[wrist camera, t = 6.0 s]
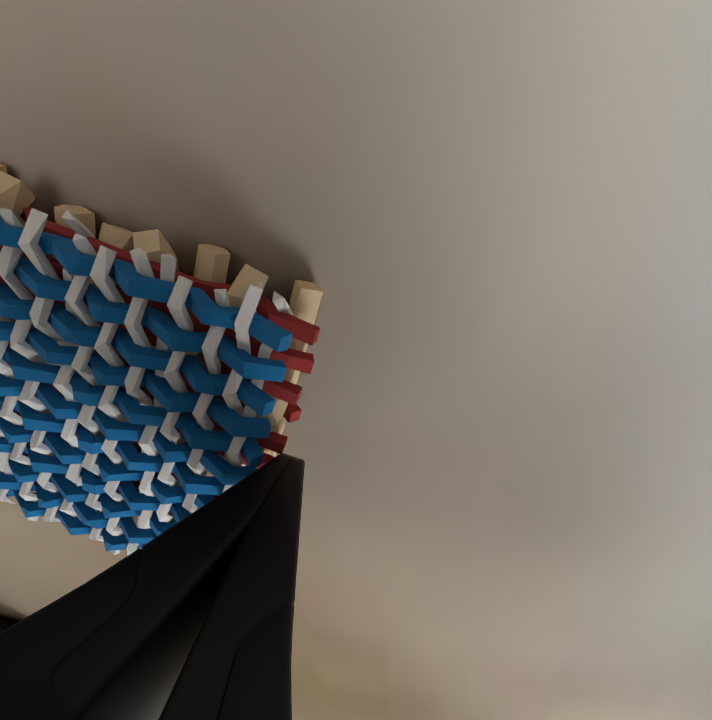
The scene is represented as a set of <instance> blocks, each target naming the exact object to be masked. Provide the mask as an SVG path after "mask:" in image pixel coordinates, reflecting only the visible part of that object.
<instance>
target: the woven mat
mask: <svg viewBox="0 0 712 720" xmlns="http://www.w3.org/2000/svg"><path fill="white" fill-rule="evenodd" d="M35 199H36V198H35V197H34V195H33V194H32V193H31V192H30V191H29V189H28V188H27V187H26V186H25V185H24V183H23V182H22V181H21V180H19V179H17V178H15V177H13V176H11V175H9V174H7V166H5V165H2V164H0V501H3V502H7V503H11V504H15V503H14V502H13V501H12V500H11V499H10V498H8V496H15V497H16V499H17V501H18V503H19V505H20V507H21V509H22V511H23V513H24V515H25V517H26V518H28V519H27V520H31V521H37V519H38V517H39V516H44V517H43V519H42V521H48V522H62V523H63V525H64V526H65V527H66V529H67V530H68V532H69V533H70V534H71V535H80V534H90V535H89V538H88V539H91V540H96V541H102V542H104V544H105V547H106V550H107V551H109V552H110V553H111V554H113V555H116V554H119V552H120V550H122V549H127V555H130V554H131V553H133V552H134V551H136V550H137V549H139V548H142V547H143V546H144V545H145V544H146V543H148V542H149V541H151V540H152V539H154V538H155V537H157V536H158V535H160V534H161V533H163V532H164V531H166V530H167V529H169V528H170V527H172V526H173V525H175V524H176V523H178V522H179V521H181V520H182V519H184V518H185V517H187V516H188V515H190V514H191V513H193V512H194V511H196V510H197V509H199V508H200V507H202V506H203V505H205V504H206V503H208V502H209V501H211V500H212V499H214V498H215V497H217V496H218V495H220V494H221V493H223V492H224V491H226V490H227V489H229V488H230V487H232V486H233V485H235V484H236V483H238V482H239V481H241V480H242V479H244V478H245V477H247V476H248V475H250V474H251V473H253V472H254V471H256V470H257V469H259V468H260V467H262V466H263V465H265V464H266V463H268V462H269V461H271V460H272V459H274V458H275V457H276V454H277V453H279V454H282V452H283V450H284V448H285V445H286V441H287V438H288V437H286V436H284V435H282V433H283V430H284V426H285V423H286V420H287V421H288V422H289V423H290V422H293V421H296V420H299V416H300V413H301V409H300V408H299V406H298V405H297V404H296V403H297V401H298V400H299V398H300V394H301V391H302V387H300V386H298V385H296V384H297V381H298V377H299V374H300V372H305V373H309V374H310V372H311V369H312V366H313V363H314V358H313V354H310V353H306V350H307V346H308V344H309V345H313V344H314V343H315V342H316V341H317V337H318V334H319V331H320V328H319V327H317V326H315V325H314V322H315V319H316V315H317V312H318V308H319V305H320V302H321V298H322V295H323V291H322V290H321V289H320V287H319V286H318V285H317V283H312V282H307V281H301V280H296V279H295V283H294V287H293V291H292V295H291V298H290V302H289V305H288V303H287V302H286V300H285V298H284V297H282V296H281V295H279V294H278V293H276V292H275V291H274V293H273V299H272V301H273V303H274V304H275V305H274V304H273V303H272V302H271V301H269V300H268V299H267V298H266V297H265V296H264V295H262V292H263V289H264V287H265V284H266V282H267V280H268V277H269V276H267V275H265V274H264V273H262V272H260V271H258V270H256V269H255V268H253V267H251V266H249V265H247V264H245V265H244V267H243V268H242V269H241V271H240V272H239V274H238V276H237V277H236V279H235V281H234V282H233V284H226V278H227V272H228V266H229V260H230V253H229V252H228V251H227V250H226V249H225V248H222V247H218V246H214V245H211V244H199V245H198V251H197V258H196V264H195V270H194V276H193V277H192V276H189V275H187V274H184V273H182V272H179V266H178V260H177V257H176V255H175V253H174V252H173V250H172V248H171V246H170V245H169V243H168V242H167V241H166V239H165V238H164V236H163V235H162V234H161V232H160V231H159V229H154V230H147V231H140V232H131V231H129V230H126V229H124V228H121V227H117V226H114V225H110V224H106V223H102V226H101V230H100V234H99V238H98V240H97V239H96V233H95V213H93V212H91V211H90V210H88V209H86V208H84V207H82V206H75V205H65V204H63V205H59V206H55V207H54V215H55V223H54V222H51V221H49V220H48V219H47V217H48V214H46V213H43V212H42V211H41V209H38V208H36V207H33V206H30V204H31V203H32V202H33V201H34V200H35ZM54 257H55V258H56V259H57V260H56V259H55V258H54ZM19 298H20V299H19ZM186 307H187V309H186ZM105 385H106V386H105ZM213 428H214V429H216V431H212V430H213ZM134 480H141V483H138V482H136V481H134ZM30 490H31V491H36V493H34V492H31V491H30ZM34 501H36V502H35V503H34ZM15 505H16V504H15ZM55 514H56V515H55ZM117 525H120V527H118V526H117Z"/></svg>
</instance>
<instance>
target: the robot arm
mask: <svg viewBox="0 0 712 720" xmlns="http://www.w3.org/2000/svg"><path fill="white" fill-rule="evenodd" d="M304 465H305V462H304V460H302V459H299V458H296V457H293V456H289V455H286V454H280V455H278V456H277V457H275V458H274V459H272V460H271V461H269V462H268V463H266V464H265V465H263V466H262V467H260V468H259V469H257V470H256V471H254V472H253V473H251V474H250V475H248V476H247V477H245V478H244V479H242V480H241V481H239V482H238V483H236V484H235V485H233V486H232V487H230V488H229V489H227V490H226V491H224V492H223V493H221V494H220V495H218V496H217V497H215V498H214V499H212V500H211V501H209V502H208V503H206V504H205V505H203V506H202V507H200V508H199V509H197V510H196V511H194V512H193V513H191V514H190V515H188V516H187V517H185V518H184V519H182V520H181V521H179V522H178V523H176V524H175V525H173V526H172V527H170V528H169V529H167V530H166V531H164V532H163V533H161V534H160V535H158V536H157V537H155V538H154V539H152V540H151V541H149V542H148V543H146V544H145V545H144V546H143V547H142V550H141V549H137V550H136V551H134V552H133V553H131V554H130V555H128V556H127V557H125V558H124V559H122V560H121V561H119V562H118V563H116V564H115V565H113V566H111V567H110V568H108V569H107V570H105V571H104V572H102V573H101V574H99V575H97V576H96V577H94V578H93V579H91V580H90V581H88V582H86V583H85V584H83V585H81V586H80V587H78V588H76V589H75V590H73V591H71V592H70V593H68V594H66V595H64V596H63V597H61V598H59V599H58V600H56V601H54V602H53V603H51V604H49V605H47V606H46V607H44V608H42V609H41V610H39V611H37V612H35V613H33V614H32V615H30V616H28V617H26V618H25V619H23V620H21V621H19V622H18V623H16V624H12V623H9V622H6V621H3V620H1V619H0V720H292V704H291V653H292V630H293V616H294V600H295V586H296V573H297V559H298V546H299V532H300V519H301V505H302V492H303V478H304Z"/></svg>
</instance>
